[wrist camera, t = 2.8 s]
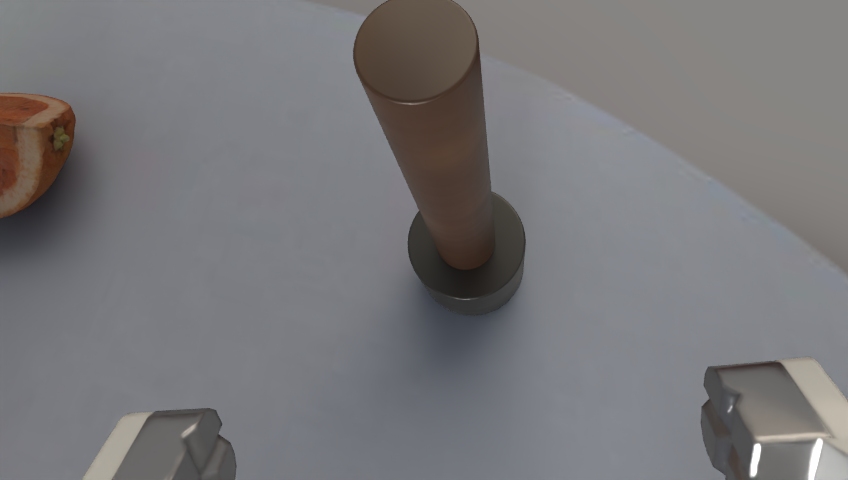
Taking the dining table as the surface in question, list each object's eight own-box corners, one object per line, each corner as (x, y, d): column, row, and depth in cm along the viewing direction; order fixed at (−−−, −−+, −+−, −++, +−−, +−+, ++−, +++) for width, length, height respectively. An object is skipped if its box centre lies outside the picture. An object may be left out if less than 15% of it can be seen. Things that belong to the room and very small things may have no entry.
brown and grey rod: (522, 216, 27) (542, -71, 11) (523, 316, 26) (547, 162, 10) (423, 217, 28) (302, -54, 12) (420, 315, 27) (280, 167, 10)
